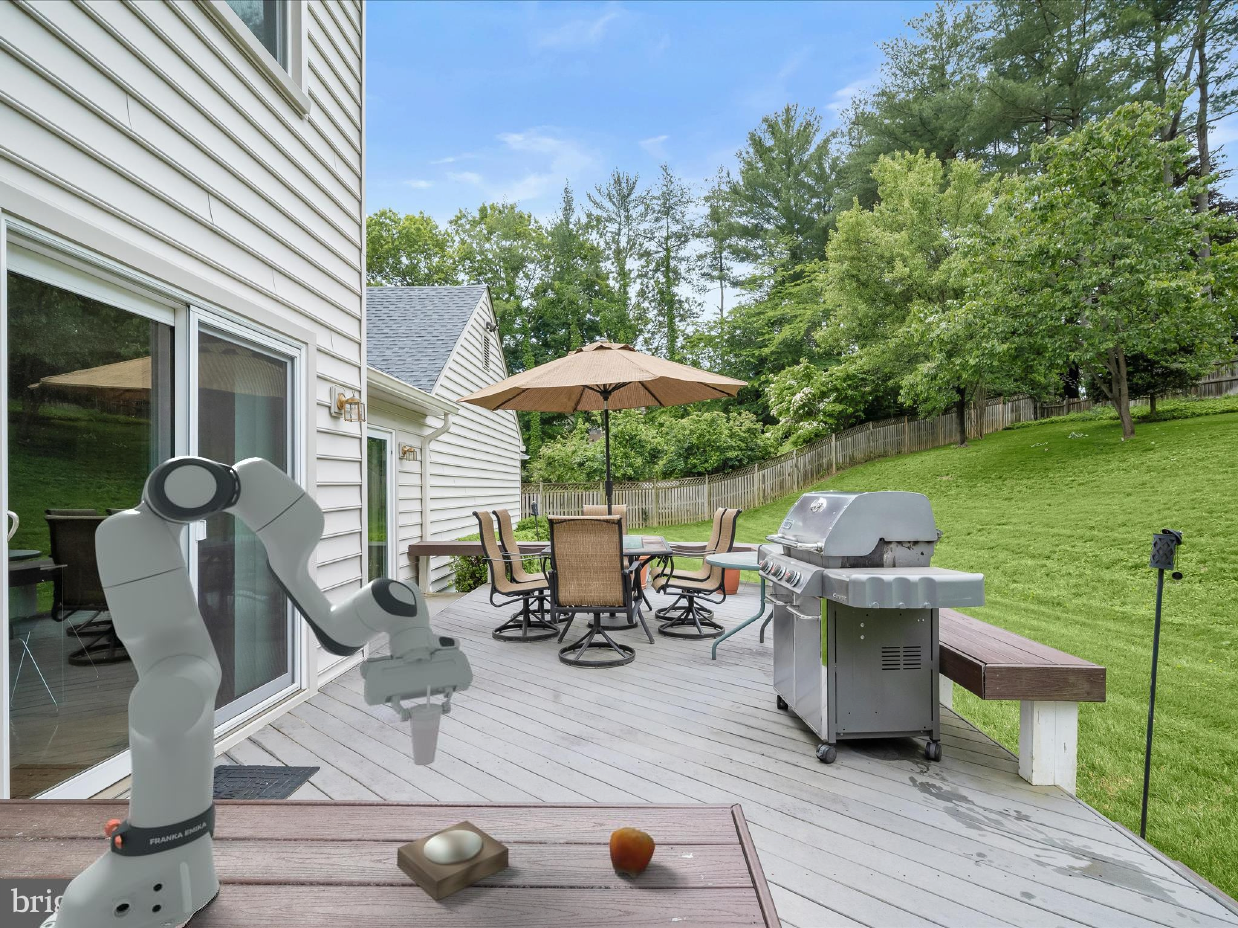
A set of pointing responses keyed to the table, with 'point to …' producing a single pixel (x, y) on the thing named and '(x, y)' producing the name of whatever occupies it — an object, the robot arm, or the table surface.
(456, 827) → the stand
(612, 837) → the fruit
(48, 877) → the table surface
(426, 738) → the smoothie
